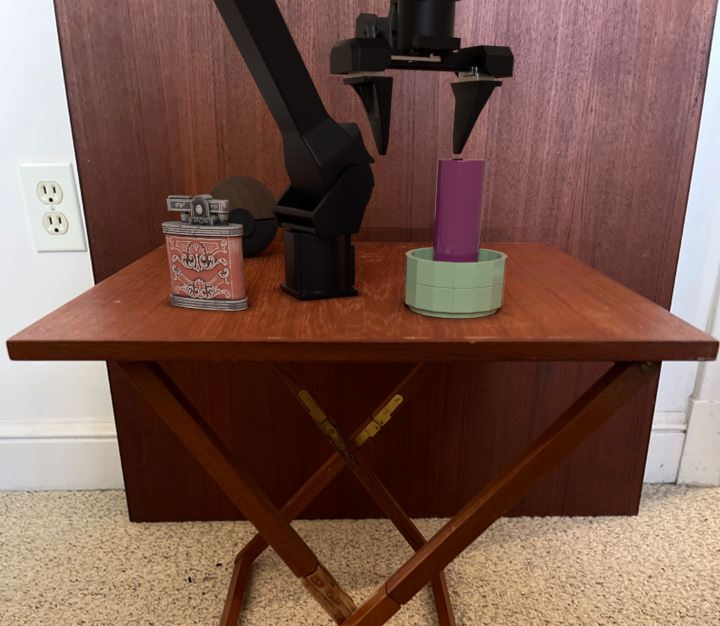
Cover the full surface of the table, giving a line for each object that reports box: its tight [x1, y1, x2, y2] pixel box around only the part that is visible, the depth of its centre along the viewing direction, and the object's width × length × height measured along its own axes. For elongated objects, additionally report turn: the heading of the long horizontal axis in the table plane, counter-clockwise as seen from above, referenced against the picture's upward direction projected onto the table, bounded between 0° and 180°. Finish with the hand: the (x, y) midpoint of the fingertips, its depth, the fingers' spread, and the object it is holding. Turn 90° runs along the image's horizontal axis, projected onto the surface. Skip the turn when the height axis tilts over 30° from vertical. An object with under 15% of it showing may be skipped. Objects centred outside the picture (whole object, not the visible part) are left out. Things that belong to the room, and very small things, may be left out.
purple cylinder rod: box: [432, 157, 488, 262], centre depth 65 cm, size 4×4×12 cm
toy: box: [209, 174, 279, 258], centre depth 92 cm, size 9×10×10 cm
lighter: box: [161, 193, 249, 312], centre depth 66 cm, size 8×3×10 cm, turn 71°
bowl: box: [403, 246, 509, 319], centre depth 67 cm, size 9×9×5 cm
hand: (420, 154), depth 75 cm, fingers open, 9 cm apart
